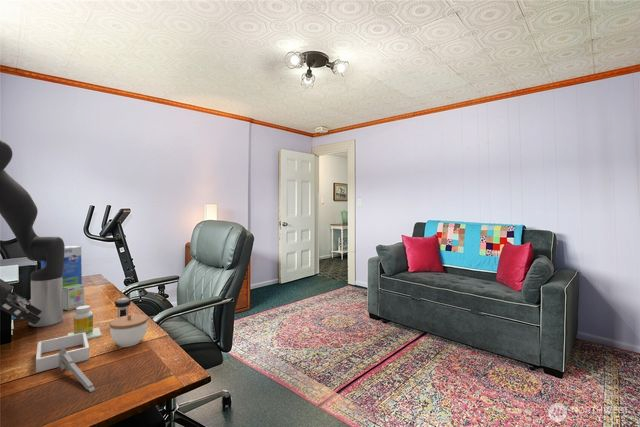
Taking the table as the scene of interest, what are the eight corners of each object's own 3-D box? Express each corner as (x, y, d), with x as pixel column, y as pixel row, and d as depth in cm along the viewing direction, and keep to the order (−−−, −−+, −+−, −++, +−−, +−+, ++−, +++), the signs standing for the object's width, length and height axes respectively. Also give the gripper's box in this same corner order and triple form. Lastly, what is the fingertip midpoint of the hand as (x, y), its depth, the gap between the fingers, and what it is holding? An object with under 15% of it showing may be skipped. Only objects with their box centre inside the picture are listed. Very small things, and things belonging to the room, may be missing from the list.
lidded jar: (108, 342, 104) (107, 314, 103) (144, 333, 110) (144, 307, 110) (112, 353, 95) (111, 323, 95) (151, 344, 102) (151, 315, 102)
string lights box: (74, 297, 153) (73, 245, 153) (82, 299, 150) (82, 246, 149) (40, 305, 141) (39, 248, 141) (49, 307, 138) (48, 249, 137)
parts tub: (36, 372, 84) (35, 359, 84) (38, 353, 95) (38, 341, 95) (89, 359, 92) (89, 347, 92) (85, 342, 103) (85, 332, 103)
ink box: (68, 311, 134) (67, 280, 133) (61, 310, 135) (61, 279, 135) (84, 306, 140) (84, 276, 140) (78, 305, 141) (78, 276, 141)
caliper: (58, 369, 87) (58, 347, 86) (63, 367, 88) (62, 345, 87) (90, 393, 76) (90, 367, 75) (95, 391, 76) (95, 365, 76)
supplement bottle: (76, 332, 109) (75, 305, 109) (94, 330, 112) (94, 303, 112) (71, 338, 105) (71, 310, 104) (91, 335, 107) (91, 308, 107)
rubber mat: (68, 343, 102) (68, 342, 102) (67, 334, 109) (67, 333, 109) (101, 336, 108) (101, 334, 108) (98, 328, 115) (98, 327, 115)
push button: (110, 329, 114) (110, 302, 114) (110, 325, 118) (110, 298, 118) (131, 325, 118) (131, 299, 117) (130, 321, 122) (130, 296, 122)
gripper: (-5, 282, 89) (49, 313, 97) (2, 274, 100) (49, 302, 108) (-32, 304, 86) (26, 335, 94) (-22, 293, 97) (29, 321, 104)
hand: (38, 317), depth 101 cm, fingers open, 8 cm apart
